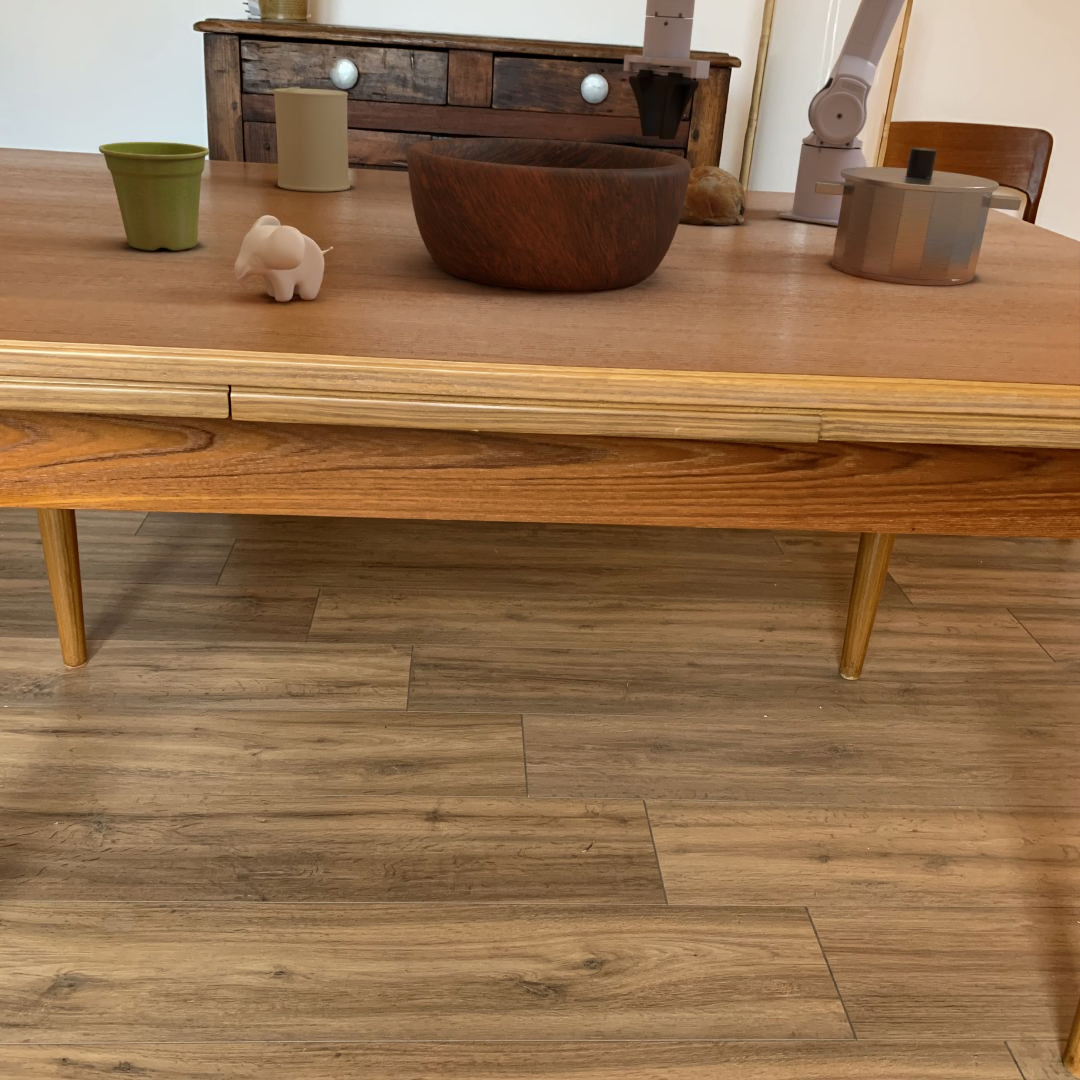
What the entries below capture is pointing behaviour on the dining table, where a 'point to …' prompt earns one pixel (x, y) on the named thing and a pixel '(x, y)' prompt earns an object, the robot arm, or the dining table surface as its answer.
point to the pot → (910, 232)
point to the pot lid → (920, 176)
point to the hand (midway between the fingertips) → (658, 137)
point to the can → (312, 139)
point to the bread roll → (713, 198)
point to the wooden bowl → (546, 210)
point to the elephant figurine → (280, 260)
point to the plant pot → (157, 191)
